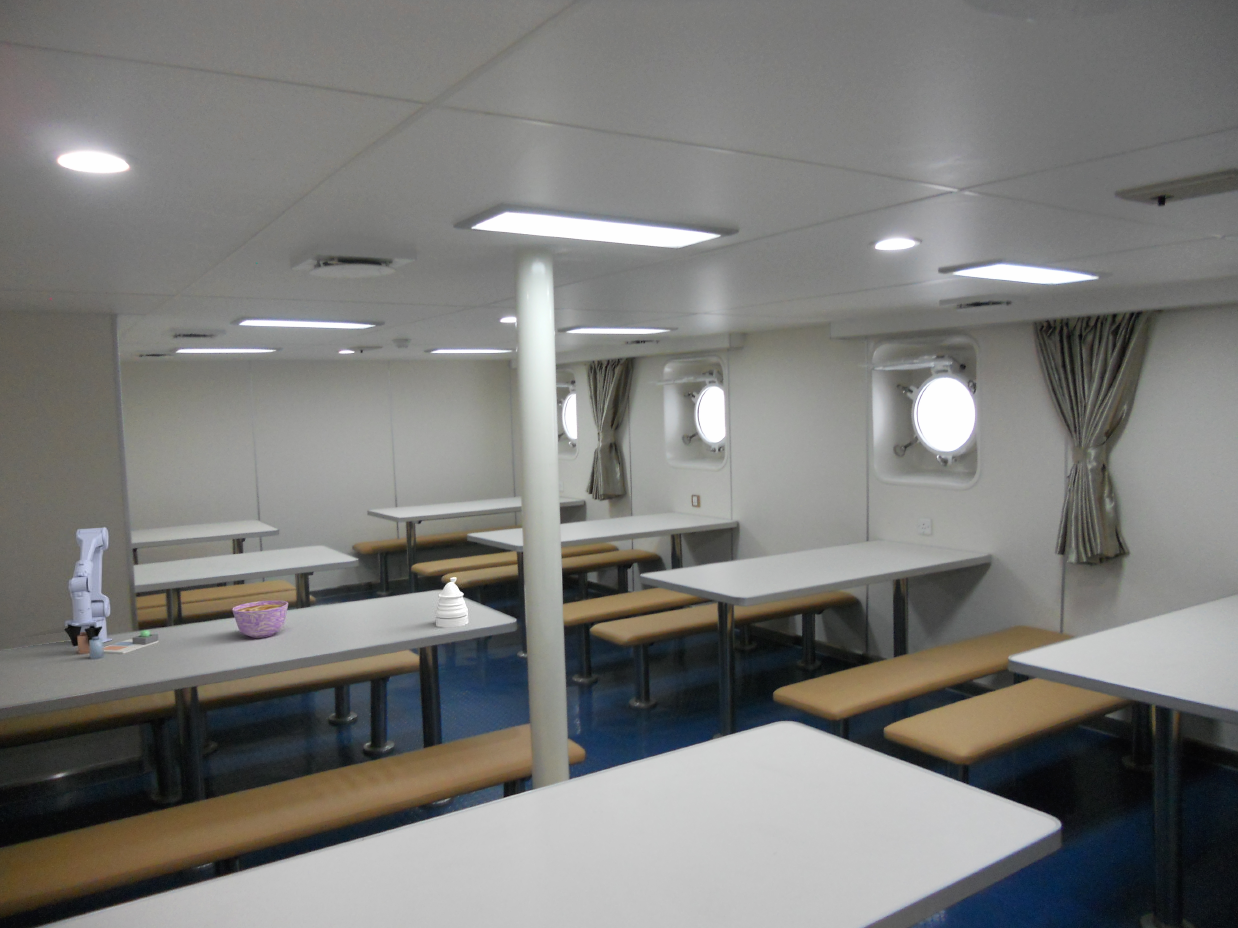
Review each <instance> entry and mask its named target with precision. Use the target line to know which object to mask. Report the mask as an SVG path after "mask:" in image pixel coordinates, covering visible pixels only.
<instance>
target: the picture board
mask: <svg viewBox="0 0 1238 928" xmlns="http://www.w3.org/2000/svg"><path fill="white" fill-rule="evenodd" d="M131 638H132V639H130V638H129V639H126V640H122V641H119V642H116V643H112V644H109V645H106V646H103V654H104V653H105V654H128V653H129V652H133V651H135V650H138V649H142V648H145V647H148V646H151V645H154V644H157V643H159V640H160V639H159V634H158V633H157V634H156V633H150V636H148V637H141V634H140V635H136V636H134V637H131Z"/></svg>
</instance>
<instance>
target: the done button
mask: <svg viewBox="0 0 1238 928" xmlns="http://www.w3.org/2000/svg"><path fill="white" fill-rule="evenodd" d="M150 631H151V630H150V629H144V630H140V635H141V637H148V636H150V634H151V632H150Z"/></svg>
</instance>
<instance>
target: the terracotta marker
mask: <svg viewBox="0 0 1238 928" xmlns="http://www.w3.org/2000/svg"><path fill="white" fill-rule="evenodd" d="M80 634H81V635H78V636H77V638H78V646H77V650H78V653H77V654H79V655H86V654H90V647H89V642H88V637H87V634H86V632H81V633H80Z"/></svg>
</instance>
